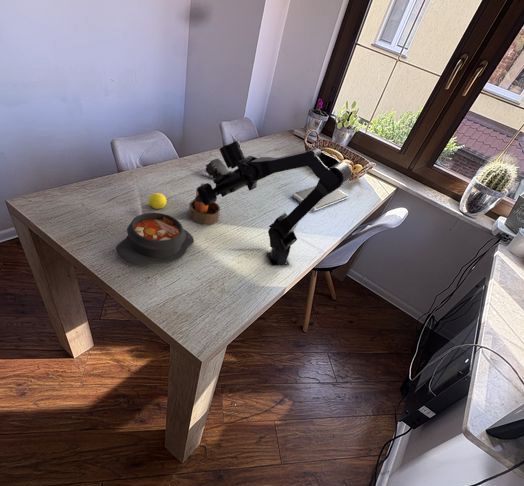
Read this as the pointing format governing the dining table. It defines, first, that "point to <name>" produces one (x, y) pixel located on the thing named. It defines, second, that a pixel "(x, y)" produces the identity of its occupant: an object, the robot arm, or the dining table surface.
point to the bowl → (201, 218)
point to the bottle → (200, 205)
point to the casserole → (154, 240)
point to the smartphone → (326, 201)
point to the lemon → (157, 200)
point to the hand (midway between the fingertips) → (204, 195)
